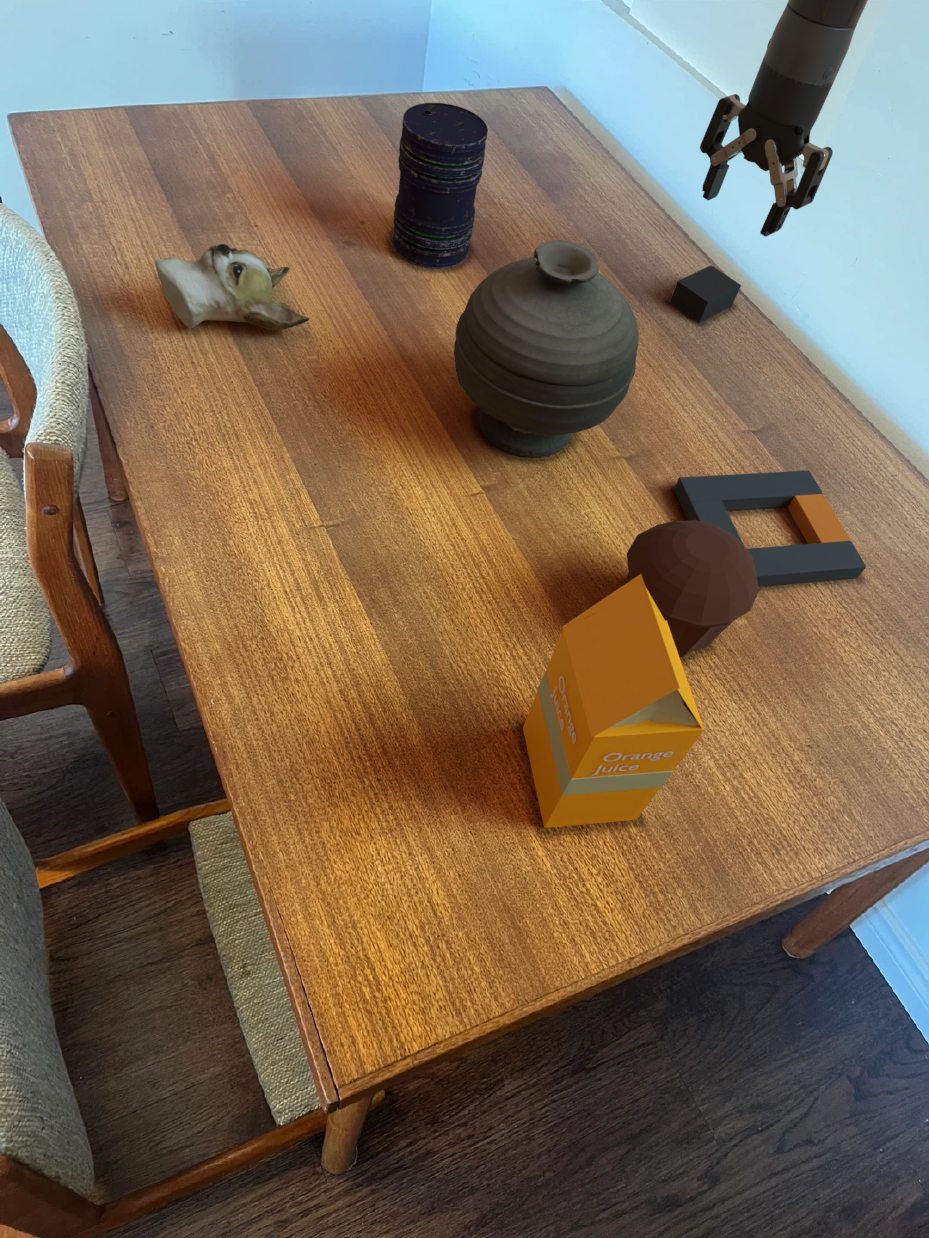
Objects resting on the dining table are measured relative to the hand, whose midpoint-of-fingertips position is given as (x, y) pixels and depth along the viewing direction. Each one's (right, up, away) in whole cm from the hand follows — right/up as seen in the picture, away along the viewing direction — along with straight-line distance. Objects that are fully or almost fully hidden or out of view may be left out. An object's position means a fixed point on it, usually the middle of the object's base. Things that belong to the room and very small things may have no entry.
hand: (737, 215), depth 102 cm
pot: (-25, -26, -8) cm, 37 cm away
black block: (-2, -7, +10) cm, 12 cm away
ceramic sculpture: (-57, -13, -5) cm, 59 cm away
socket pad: (-1, -38, -13) cm, 40 cm away
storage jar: (-36, 0, +9) cm, 37 cm away
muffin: (-13, -47, -21) cm, 53 cm away
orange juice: (-23, -59, -32) cm, 71 cm away
